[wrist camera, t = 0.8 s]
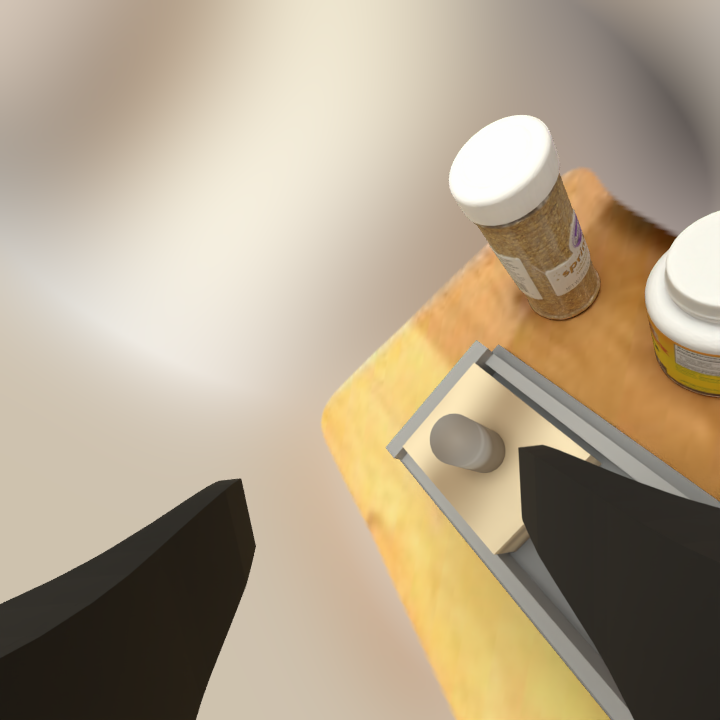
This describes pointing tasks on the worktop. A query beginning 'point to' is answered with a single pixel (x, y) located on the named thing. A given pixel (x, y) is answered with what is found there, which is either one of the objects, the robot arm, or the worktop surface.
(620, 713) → the tray
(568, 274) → the brown spice jar
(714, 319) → the supplement bottle
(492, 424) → the beige knobbed block
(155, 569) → the robot arm
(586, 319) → the worktop surface
